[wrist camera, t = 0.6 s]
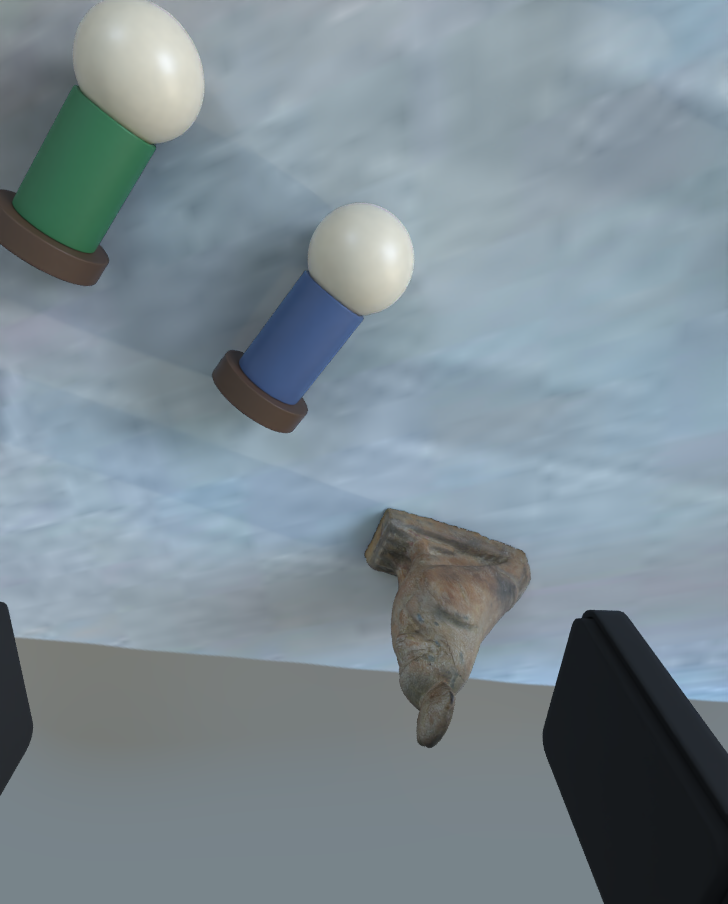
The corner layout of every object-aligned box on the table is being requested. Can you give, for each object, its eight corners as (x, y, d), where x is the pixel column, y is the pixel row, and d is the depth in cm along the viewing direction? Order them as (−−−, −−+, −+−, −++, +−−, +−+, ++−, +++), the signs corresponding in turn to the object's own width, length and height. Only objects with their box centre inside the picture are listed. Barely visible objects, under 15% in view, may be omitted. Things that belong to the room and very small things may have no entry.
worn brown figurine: (364, 539, 42) (305, 721, 26) (397, 481, 40) (359, 637, 24) (499, 612, 43) (530, 840, 26) (539, 558, 41) (601, 767, 24)
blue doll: (350, 180, 30) (354, 173, 25) (427, 249, 32) (445, 255, 27) (222, 359, 34) (202, 385, 29) (296, 412, 35) (290, 446, 30)
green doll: (138, -10, 27) (91, -64, 21) (236, 78, 28) (214, 48, 23) (18, 213, 30) (-47, 212, 25) (111, 280, 32) (68, 293, 27)
